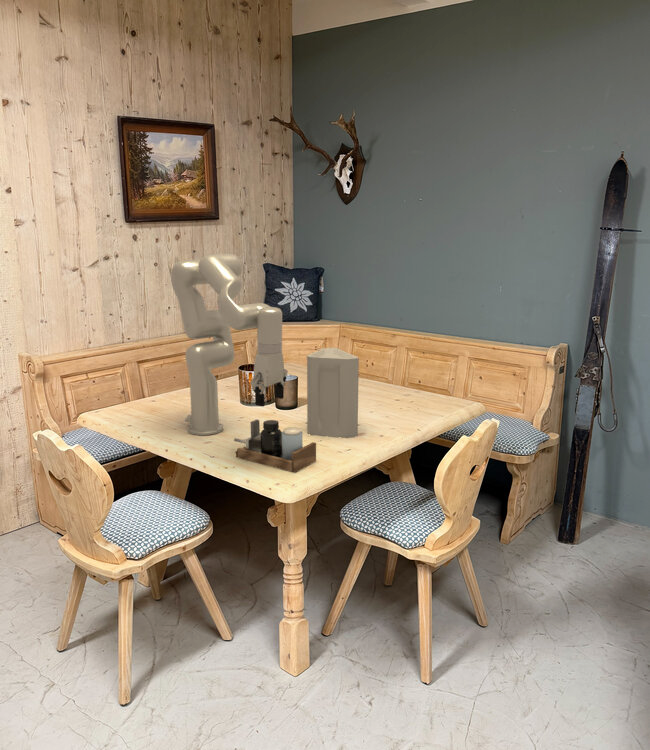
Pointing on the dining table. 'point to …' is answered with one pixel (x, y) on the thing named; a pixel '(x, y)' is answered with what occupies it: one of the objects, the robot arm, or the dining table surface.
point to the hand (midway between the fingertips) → (269, 401)
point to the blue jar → (291, 442)
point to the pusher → (253, 438)
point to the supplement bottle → (271, 439)
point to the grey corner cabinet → (332, 393)
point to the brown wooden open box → (299, 458)
